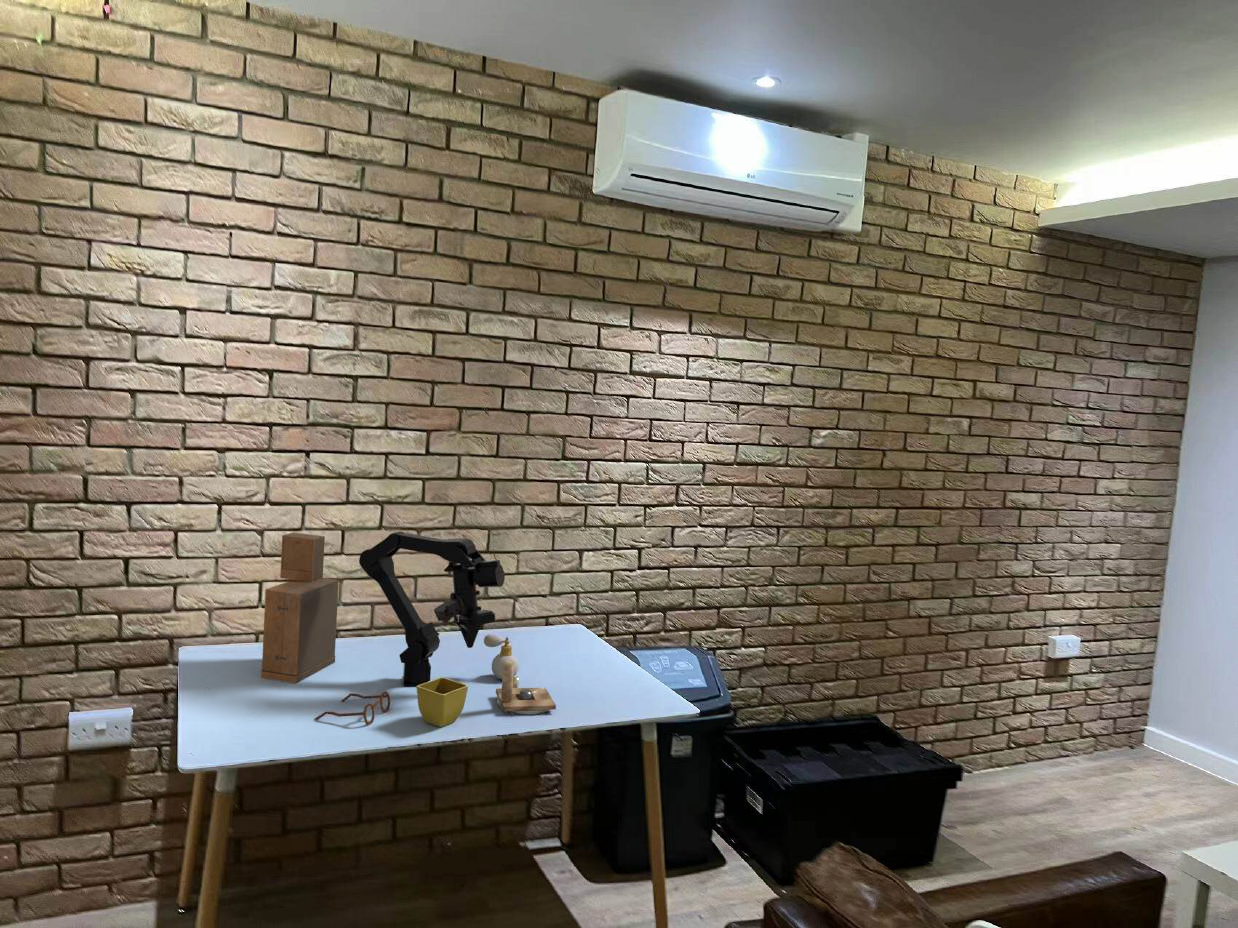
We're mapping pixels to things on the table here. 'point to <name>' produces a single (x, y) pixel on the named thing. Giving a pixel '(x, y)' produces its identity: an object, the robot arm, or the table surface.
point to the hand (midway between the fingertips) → (470, 647)
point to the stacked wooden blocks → (300, 613)
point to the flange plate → (511, 695)
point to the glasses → (364, 708)
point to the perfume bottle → (501, 654)
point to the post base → (523, 696)
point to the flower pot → (441, 700)
